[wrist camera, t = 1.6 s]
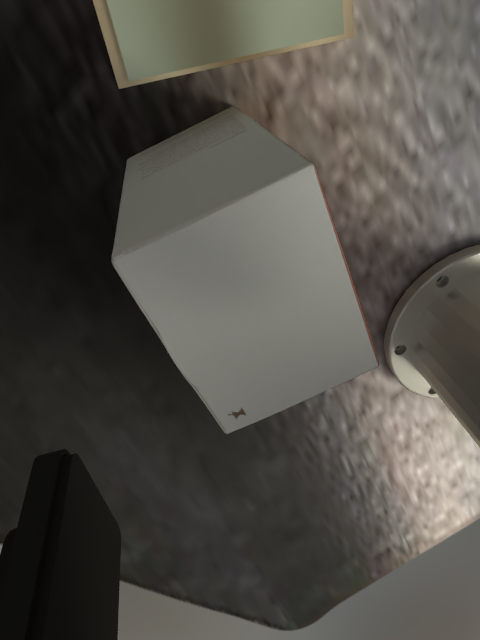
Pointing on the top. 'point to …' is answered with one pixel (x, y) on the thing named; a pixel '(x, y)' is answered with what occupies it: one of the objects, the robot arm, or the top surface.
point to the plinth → (212, 33)
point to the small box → (240, 269)
